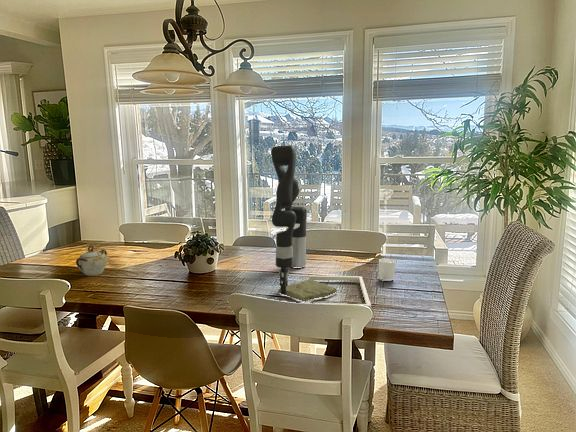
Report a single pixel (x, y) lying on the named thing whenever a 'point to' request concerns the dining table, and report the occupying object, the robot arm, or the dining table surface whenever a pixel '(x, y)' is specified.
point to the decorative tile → (308, 290)
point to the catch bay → (365, 295)
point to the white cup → (386, 268)
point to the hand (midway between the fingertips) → (284, 290)
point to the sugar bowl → (92, 262)
